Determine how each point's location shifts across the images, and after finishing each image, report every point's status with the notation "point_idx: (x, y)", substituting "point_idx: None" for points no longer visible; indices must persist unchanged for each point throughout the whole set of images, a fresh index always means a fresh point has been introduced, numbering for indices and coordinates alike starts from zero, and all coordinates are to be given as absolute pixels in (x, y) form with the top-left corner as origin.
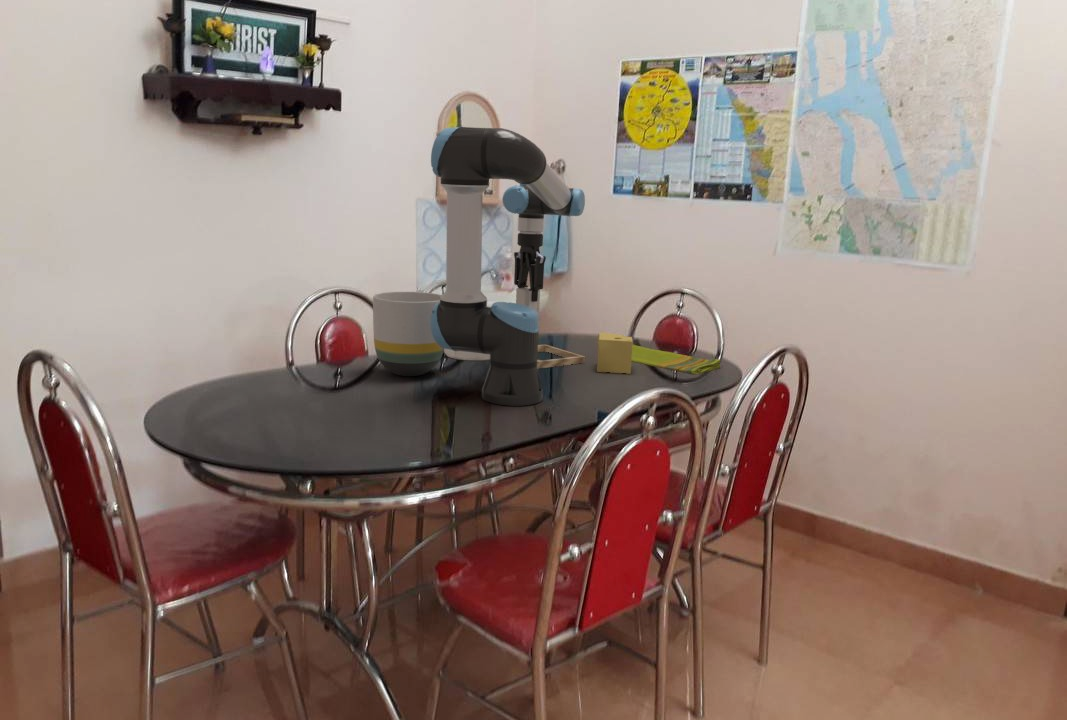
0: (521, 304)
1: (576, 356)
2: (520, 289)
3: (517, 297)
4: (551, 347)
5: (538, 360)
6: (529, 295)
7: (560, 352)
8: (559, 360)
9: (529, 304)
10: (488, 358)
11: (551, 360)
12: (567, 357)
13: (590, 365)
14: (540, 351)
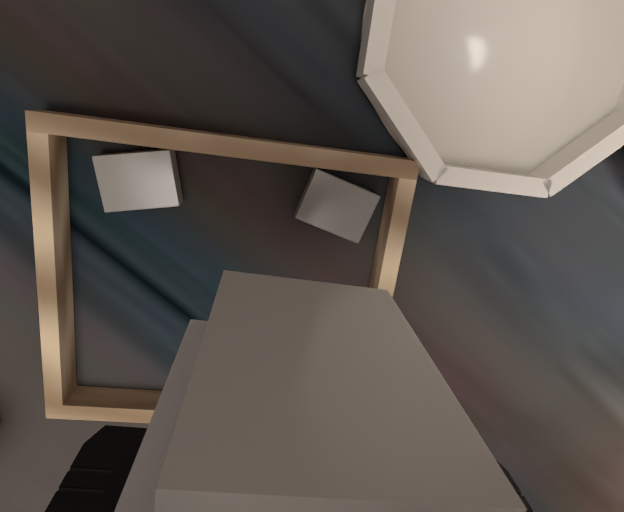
0: (279, 319)
1: (97, 402)
2: (357, 493)
3: (408, 378)
4: None
5: (125, 196)
6: (138, 471)
7: None
8: (39, 267)
9: (169, 373)
10: (362, 29)
11: (32, 216)
12: None
13: (8, 388)
14: None
